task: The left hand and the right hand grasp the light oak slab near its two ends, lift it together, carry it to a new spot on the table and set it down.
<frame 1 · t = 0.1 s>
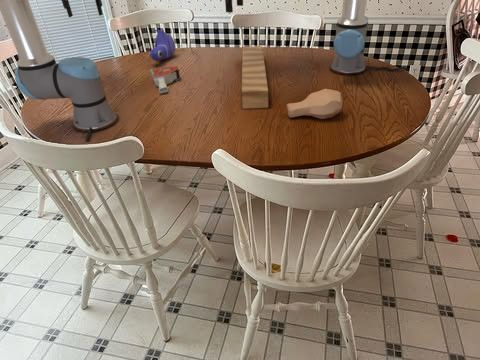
left hand: (86, 15, 157), 28 cm above the table, tool pointing down, fingers open, 13 cm apart
right hand: (234, 8, 152), 28 cm above the table, tool pointing down, fingers open, 13 cm apart
squash: (314, 115, 129), on the table
slab: (253, 80, 160), on the table
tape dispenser: (164, 84, 162), on the table
toy: (163, 60, 190), on the table
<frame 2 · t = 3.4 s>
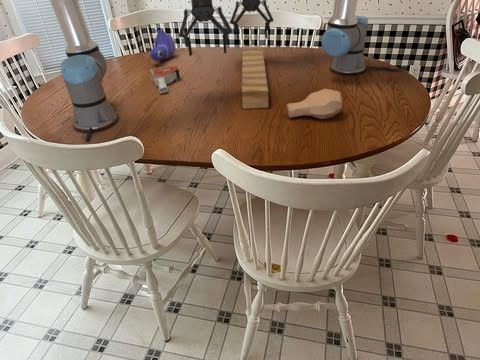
left hand: (208, 53, 140), 17 cm above the table, tool pointing down, fingers open, 13 cm apart
right hand: (252, 38, 171), 12 cm above the table, tool pointing down, fingers open, 13 cm apart
nothing on the table moved.
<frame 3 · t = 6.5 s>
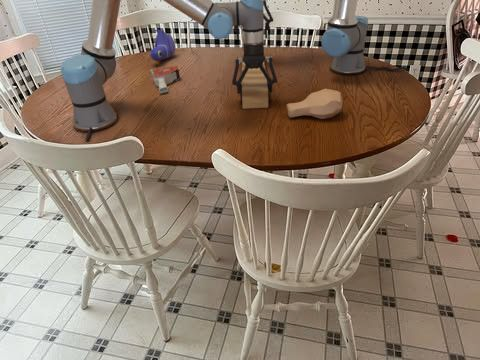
left hand: (255, 100, 141), 1 cm above the table, tool pointing down, fingers closed on slab, 10 cm apart
right hand: (252, 38, 171), 12 cm above the table, tool pointing down, fingers open, 13 cm apart
slab: (253, 80, 160), on the table, touching left hand
everything else where it was.
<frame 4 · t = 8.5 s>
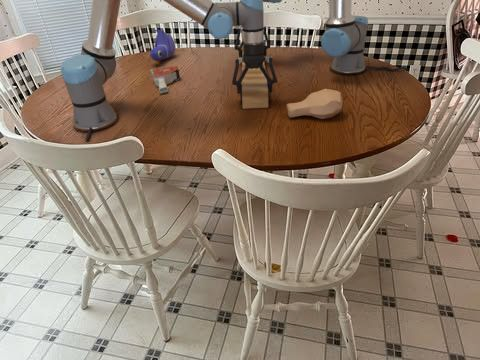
left hand: (255, 100, 141), 1 cm above the table, tool pointing down, fingers closed on slab, 10 cm apart
right hand: (252, 63, 178), 1 cm above the table, tool pointing down, fingers closed on slab, 10 cm apart
slab: (253, 80, 160), on the table, touching left hand, right hand
everything else where it was.
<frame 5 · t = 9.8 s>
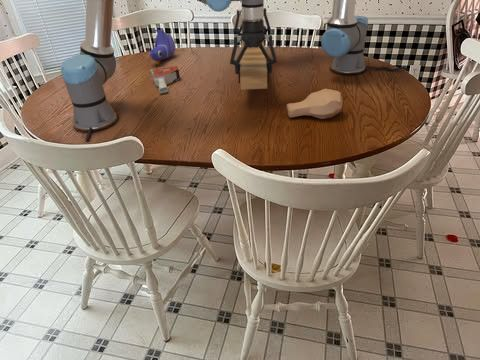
left hand: (253, 81, 136), 8 cm above the table, tool pointing down, fingers closed on slab, 10 cm apart
right hand: (252, 47, 173), 8 cm above the table, tool pointing down, fingers closed on slab, 10 cm apart
slab: (253, 63, 155), point 8 cm above the table, touching left hand, right hand
everything else where it was.
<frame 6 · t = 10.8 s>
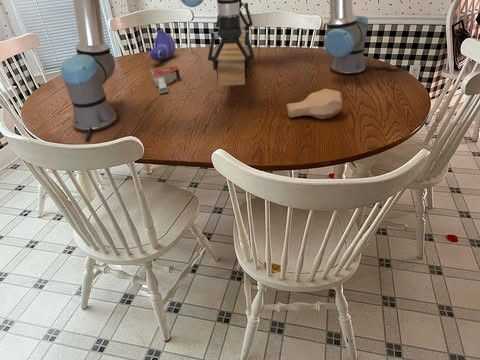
left hand: (232, 77, 137), 10 cm above the table, tool pointing down, fingers closed on slab, 10 cm apart
right hand: (235, 41, 173), 11 cm above the table, tool pointing down, fingers closed on slab, 10 cm apart
slab: (234, 58, 155), point 10 cm above the table, touching left hand, right hand
everything else where it was.
when the left hand's fingers open (2 cm above the table, at t = 13.3 s): slab drops 1 cm, on the table.
when the right hand's fingers open (2 cm above the table, at t = 13.4 s): slab drops 1 cm, on the table.
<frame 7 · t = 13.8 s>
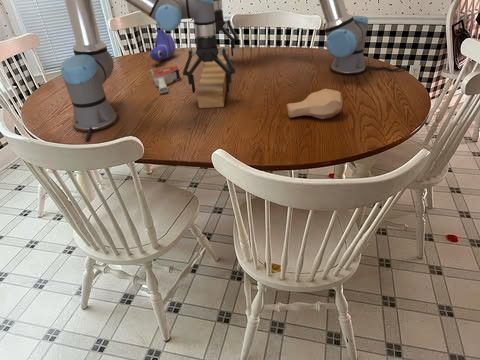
left hand: (210, 91, 141), 4 cm above the table, tool pointing down, fingers open, 13 cm apart
right hand: (218, 56, 178), 4 cm above the table, tool pointing down, fingers open, 13 cm apart
slab: (216, 80, 162), on the table
everything else where it was.
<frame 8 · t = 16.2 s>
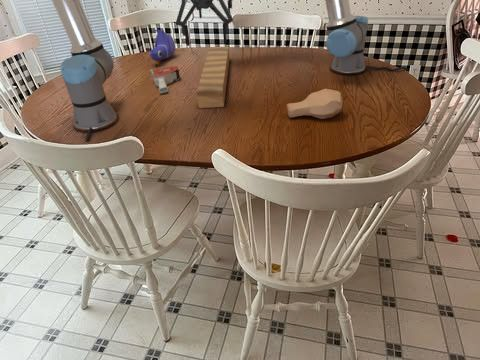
left hand: (206, 44, 131), 22 cm above the table, tool pointing down, fingers open, 13 cm apart
right hand: (215, 16, 167), 22 cm above the table, tool pointing down, fingers open, 13 cm apart
nothing on the table moved.
at the end: slab inside the target area (0.1 cm from its centre), on the table; slab tilted 0°; slab never tilted more than 2° during the clip; both hands held the slab at the same time; the left hand is holding nothing; the right hand is holding nothing; slab at rest at the end (0.0 cm/s) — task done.
